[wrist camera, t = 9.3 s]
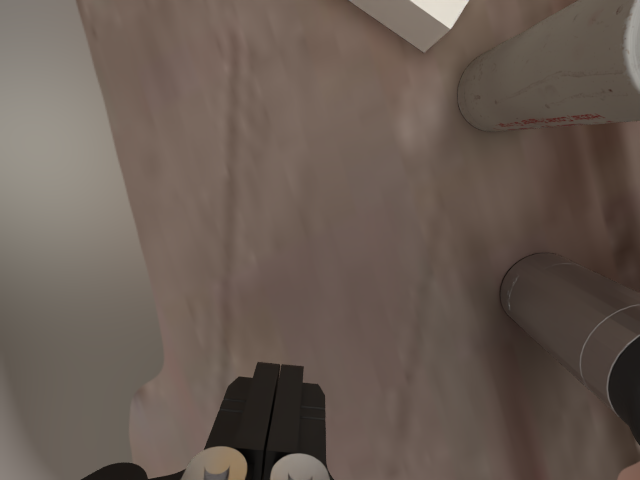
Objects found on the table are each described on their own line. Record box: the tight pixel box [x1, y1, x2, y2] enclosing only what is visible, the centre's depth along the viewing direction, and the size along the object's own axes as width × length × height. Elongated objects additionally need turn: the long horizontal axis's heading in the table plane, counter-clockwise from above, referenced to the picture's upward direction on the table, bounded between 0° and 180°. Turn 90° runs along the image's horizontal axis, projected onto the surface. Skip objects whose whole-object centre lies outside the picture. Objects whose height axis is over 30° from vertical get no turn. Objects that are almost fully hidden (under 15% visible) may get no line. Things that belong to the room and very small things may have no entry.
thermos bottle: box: [457, 0, 640, 132], centre depth 25 cm, size 8×8×28 cm
